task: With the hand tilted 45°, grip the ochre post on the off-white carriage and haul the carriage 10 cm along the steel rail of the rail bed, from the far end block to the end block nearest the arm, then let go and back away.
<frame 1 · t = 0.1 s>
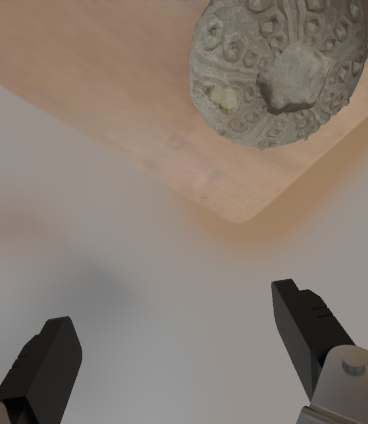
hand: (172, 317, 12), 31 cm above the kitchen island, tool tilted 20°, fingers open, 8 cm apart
decorative shell: (260, 54, 37), on the kitchen island
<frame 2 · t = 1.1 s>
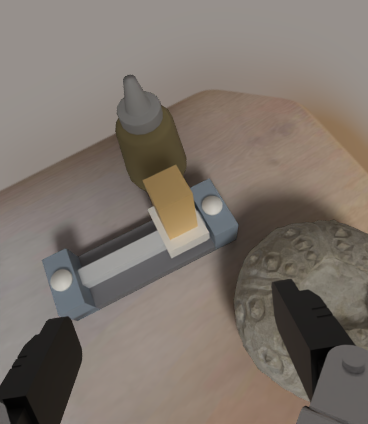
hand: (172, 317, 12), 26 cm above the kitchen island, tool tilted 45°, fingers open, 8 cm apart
squeeze bottle: (161, 178, 46), on the kitchen island
decorative shell: (309, 311, 37), on the kitchen island
rail bed: (148, 254, 41), on the kitchen island
carriage: (175, 213, 34), point 8 cm above the kitchen island, slide at 5.0 cm
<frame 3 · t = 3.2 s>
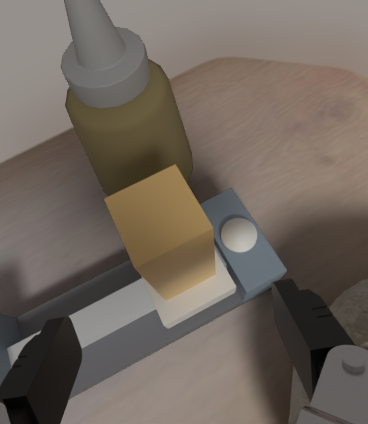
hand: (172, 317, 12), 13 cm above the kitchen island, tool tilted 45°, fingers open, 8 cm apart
squeeze bottle: (153, 187, 30), on the kitchen island
rail bed: (131, 312, 25), on the kitchen island
carriage: (174, 254, 19), point 8 cm above the kitchen island, slide at 5.0 cm
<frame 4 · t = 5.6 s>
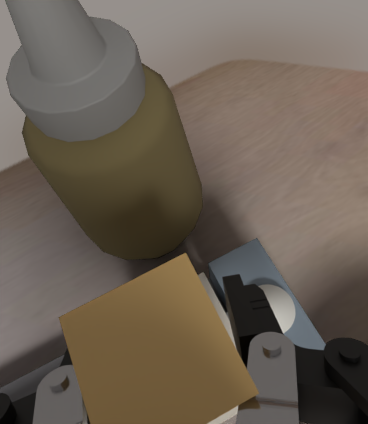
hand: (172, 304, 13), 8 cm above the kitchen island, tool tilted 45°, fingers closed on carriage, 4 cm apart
squeeze bottle: (152, 222, 24), on the kitchen island
rail bed: (121, 395, 19), on the kitchen island
carriage: (180, 354, 13), point 8 cm above the kitchen island, slide at 5.0 cm, touching gripper
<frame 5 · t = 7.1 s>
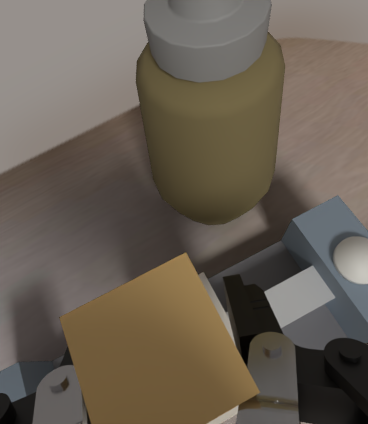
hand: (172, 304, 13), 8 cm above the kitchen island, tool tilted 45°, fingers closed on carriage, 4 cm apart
squeeze bottle: (213, 192, 25), on the kitchen island
rail bed: (198, 353, 20), on the kitchen island
carriage: (180, 354, 13), point 8 cm above the kitchen island, slide at -0.3 cm, touching gripper
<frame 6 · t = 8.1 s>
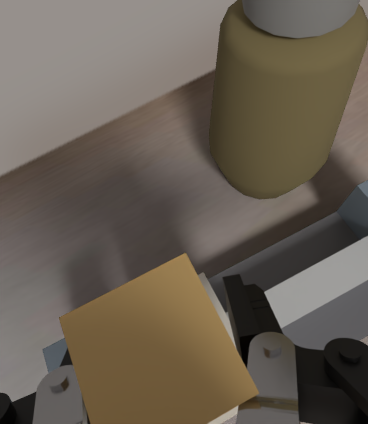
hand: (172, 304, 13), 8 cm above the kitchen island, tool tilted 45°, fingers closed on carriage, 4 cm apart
squeeze bottle: (261, 168, 25), on the kitchen island
rail bed: (258, 320, 20), on the kitchen island
carriage: (180, 354, 13), point 8 cm above the kitchen island, slide at -4.5 cm, touching gripper
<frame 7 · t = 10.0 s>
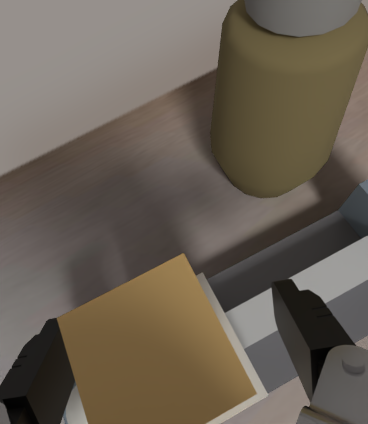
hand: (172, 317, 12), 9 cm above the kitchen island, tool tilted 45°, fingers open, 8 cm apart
squeeze bottle: (262, 167, 25), on the kitchen island
rail bed: (259, 319, 20), on the kitchen island
carriage: (179, 354, 13), point 8 cm above the kitchen island, slide at -4.7 cm
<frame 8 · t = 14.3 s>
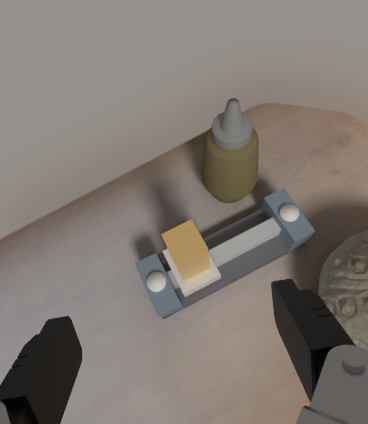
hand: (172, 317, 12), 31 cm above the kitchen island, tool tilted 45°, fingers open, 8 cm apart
squeeze bottle: (228, 187, 49), on the kitchen island
rail bed: (224, 258, 45), on the kitchen island
carriage: (189, 257, 37), point 8 cm above the kitchen island, slide at -4.7 cm
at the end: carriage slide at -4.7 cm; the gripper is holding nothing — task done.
